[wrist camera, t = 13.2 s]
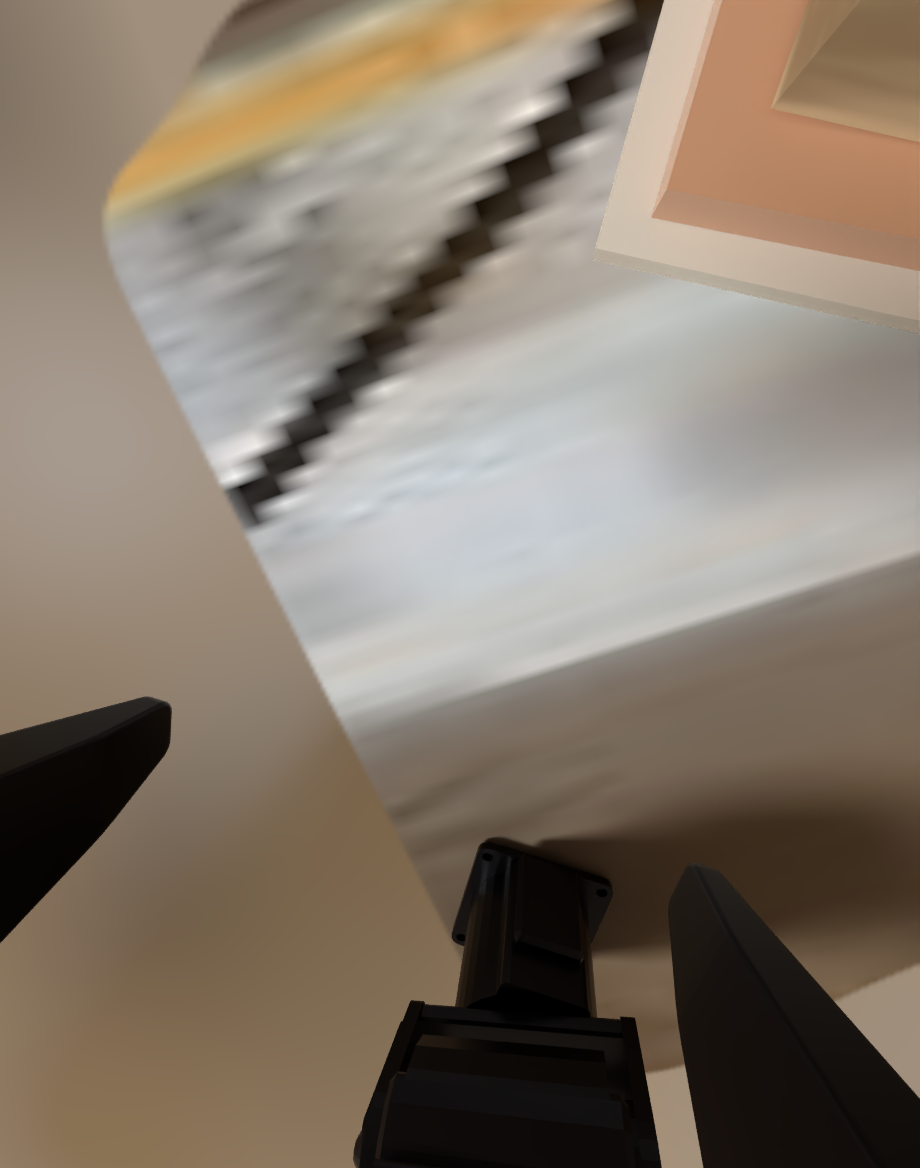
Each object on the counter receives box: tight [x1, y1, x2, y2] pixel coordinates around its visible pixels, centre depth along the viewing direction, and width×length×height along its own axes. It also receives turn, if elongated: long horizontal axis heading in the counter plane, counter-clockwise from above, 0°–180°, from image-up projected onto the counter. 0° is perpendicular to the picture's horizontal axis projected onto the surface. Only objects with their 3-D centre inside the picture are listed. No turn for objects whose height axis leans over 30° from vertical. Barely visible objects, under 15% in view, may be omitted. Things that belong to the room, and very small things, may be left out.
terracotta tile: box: [651, 0, 920, 271], centre depth 13 cm, size 9×9×2 cm
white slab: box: [592, 0, 920, 334], centre depth 15 cm, size 11×11×2 cm
